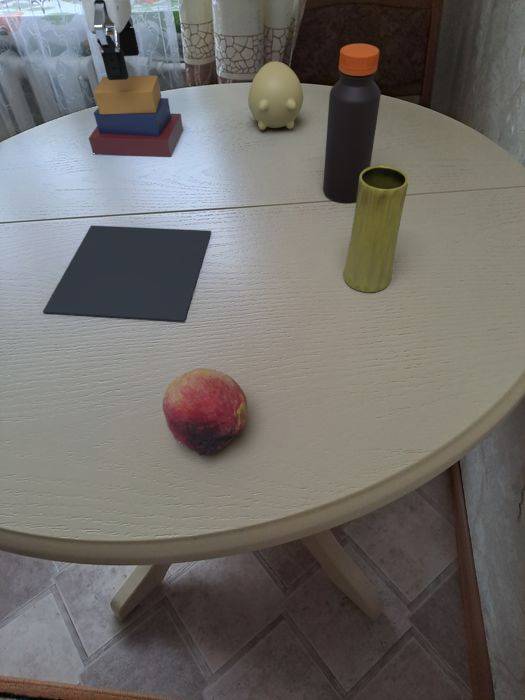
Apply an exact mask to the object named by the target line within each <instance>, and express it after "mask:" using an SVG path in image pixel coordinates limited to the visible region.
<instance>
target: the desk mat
mask: <svg viewBox="0 0 525 700" xmlns="http://www.w3.org/2000/svg"><path fill="white" fill-rule="evenodd" d="M211 235H212V230H203V229H182V228H161V227H159V228H157V227H137V226H116V225H113V226H111V225H90V227H89V228H88V230H87V232H86V234H85V236H84V237H83V238H82V241H81V242H80V244H79V246H78V248H77V249H76V252H74V255H73V257H72V258H71V260H70V262H69V264H68V266H67V267H66V269H65V271H64V273H63V274H62V276H61V278H60V280H59V281H58V283H57V285H56V287H55V289H54V290H53V292H52V294H51V296H50V298H49V299H48V301H47V303H46V305H45V306H44V308H43V310H42V313H43V314H44V315H61V316H74V317H75V316H77V317H92V318H108V319H124V320H139V321H141V320H142V321H153V322H173V323H186V319H187V317H188V313H189V309H190V305H191V302H192V300H193V296H194V293H195V290H196V285H197V283H198V279H199V275H200V272H201V269H202V266H203V262H204V259H205V255H206V251H207V249H208V245H209V241H210V239H211Z"/></svg>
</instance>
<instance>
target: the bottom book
mask: <svg viewBox="0 0 525 700" xmlns="http://www.w3.org/2000/svg"><path fill="white" fill-rule="evenodd" d="M183 131H184V127H183V121H182V115H181V113H171V119H170V121H169V123H168V124H167V126H166V127H165V129H164V130H163V132H162V133H161V135H160V136H159V137H158V136H142V135H125V134H109V133H99V130H98V127H97V126H96V127H95V128H94V129H93V131H92V133H91V134H90V135H89V137H88V141H89V145H90V147H91V150H92V154H93V153H95V154H113V155H112V156H126V157H127V156H131V157H132V156H133V157H160V158H161V157H165V158H171V157H172V155H173V153H174V151H175V149H176V146H177V144H178V142H179V140H180V138H181V135H182V133H183Z"/></svg>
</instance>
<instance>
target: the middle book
mask: <svg viewBox="0 0 525 700" xmlns="http://www.w3.org/2000/svg"><path fill="white" fill-rule="evenodd" d="M171 114H172V113H171V108H170V102H169V97H161V99H160V102H159V105H158V108H157V111H156V113H131V114H100V113H99V109H98V107H97V108H96V109H95V111H94V112H93V116H94V120H95V123H96V127H98V130H99V133H109V134H125V135H142V136H158V137H159V136H160V135H161V133H162V132H163V130H164V129H165V127H166V126H167V124H168V123H169V121H170V119H171Z"/></svg>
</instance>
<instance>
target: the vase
mask: <svg viewBox="0 0 525 700" xmlns="http://www.w3.org/2000/svg"><path fill="white" fill-rule="evenodd" d="M408 187H409V177H408V175H407V174H406V173H405V172H404V171H403V170H401V169H400V168H397V167H395V166H393V165H392V166H391V165H385V164H377V165H376V164H375V165H370V167H368V168H366V169H364V170H363V171H362V172H361V174H360V176H359V186H358V194H357V201H355V208H354V214H353V221H352V228H351V232H350V233H351V234H350V239H349V244H348V248H347V255H346V261H345V265H344V270H343V273H342V276H343V279H344V281H345V283H346V284H347V285H348V286H349V287H350V288H351V289H353V290H356V291H358V292H361V293H376V292H380V291H382V290H384V289H387V287H388V286H389V284H390V283H391V281H392V273H393V267H394V263H395V256H396V249H397V243H398V237H399V231H400V225H401V220H402V215H403V210H404V205H405V201H406V195H407V190H408Z"/></svg>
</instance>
